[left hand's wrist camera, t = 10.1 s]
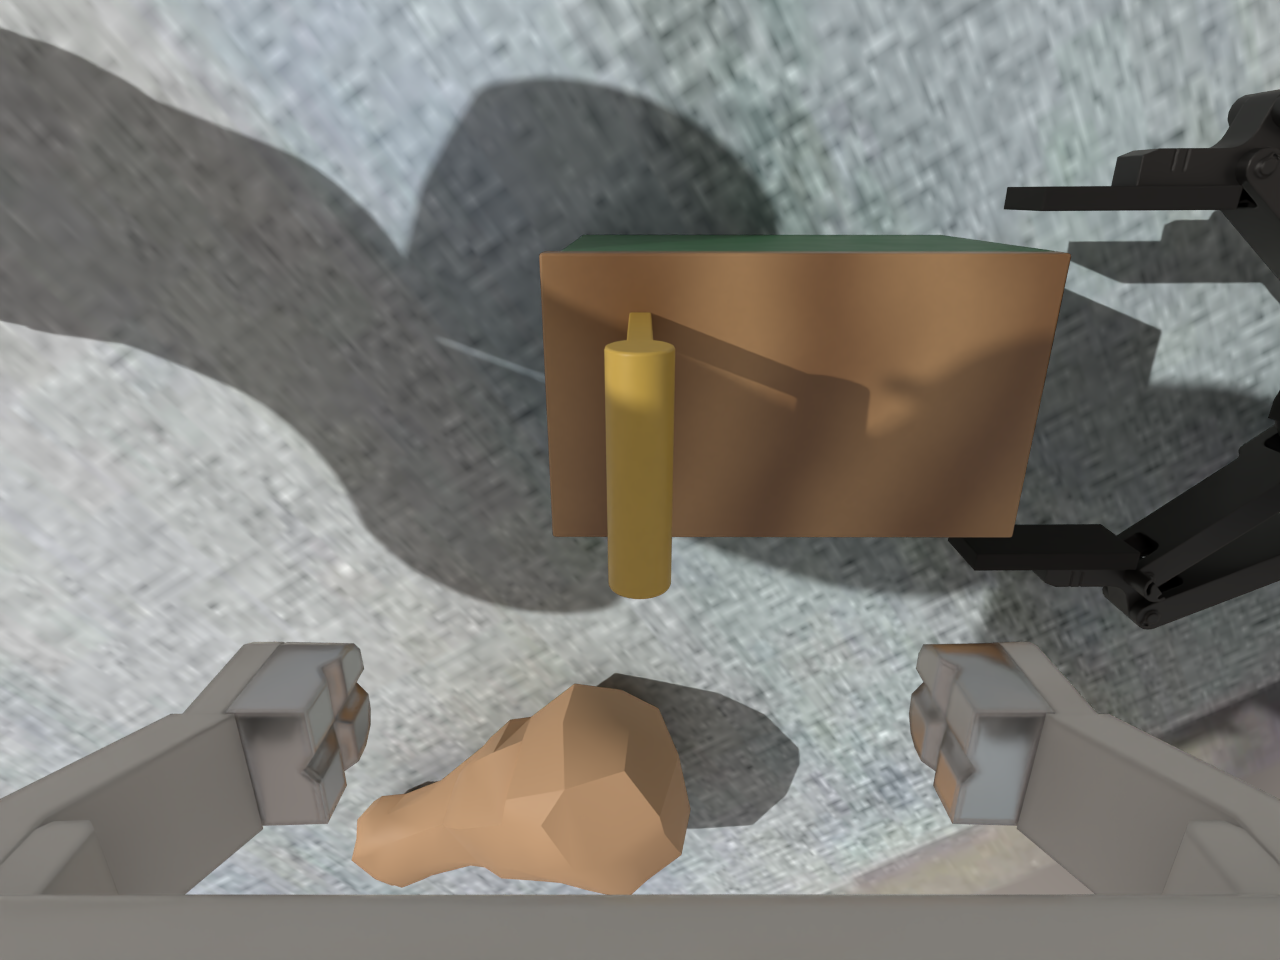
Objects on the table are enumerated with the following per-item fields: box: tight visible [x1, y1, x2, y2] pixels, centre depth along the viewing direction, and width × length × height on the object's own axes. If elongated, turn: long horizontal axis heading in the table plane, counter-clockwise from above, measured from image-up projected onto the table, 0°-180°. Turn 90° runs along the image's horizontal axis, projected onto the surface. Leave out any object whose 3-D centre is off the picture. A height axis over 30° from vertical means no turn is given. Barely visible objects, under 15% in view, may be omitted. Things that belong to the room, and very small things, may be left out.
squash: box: [352, 684, 691, 895], centre depth 40 cm, size 11×20×9 cm, turn 119°
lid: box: [539, 251, 1071, 599], centre depth 21 cm, size 17×10×8 cm, turn 90°
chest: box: [562, 235, 1055, 252], centre depth 30 cm, size 16×10×10 cm, turn 90°
